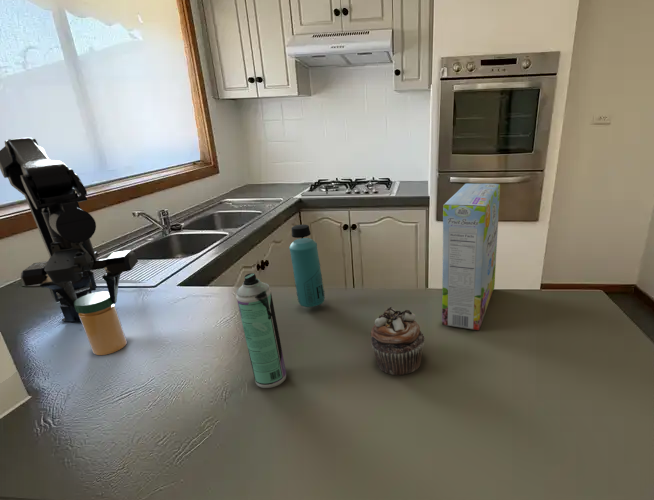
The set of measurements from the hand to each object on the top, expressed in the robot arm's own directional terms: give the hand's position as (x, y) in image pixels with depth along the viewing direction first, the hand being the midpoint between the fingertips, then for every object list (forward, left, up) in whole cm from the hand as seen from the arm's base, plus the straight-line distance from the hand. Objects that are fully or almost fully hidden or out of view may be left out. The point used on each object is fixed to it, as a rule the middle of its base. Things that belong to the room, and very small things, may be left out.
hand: (96, 306), depth 86 cm
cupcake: (0, +62, -10) cm, 63 cm away
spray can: (+7, +40, -10) cm, 42 cm away
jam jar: (0, 0, -10) cm, 10 cm away
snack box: (-23, +75, -10) cm, 79 cm away
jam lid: (0, 0, +1) cm, 1 cm away
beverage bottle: (-21, +38, -10) cm, 45 cm away
